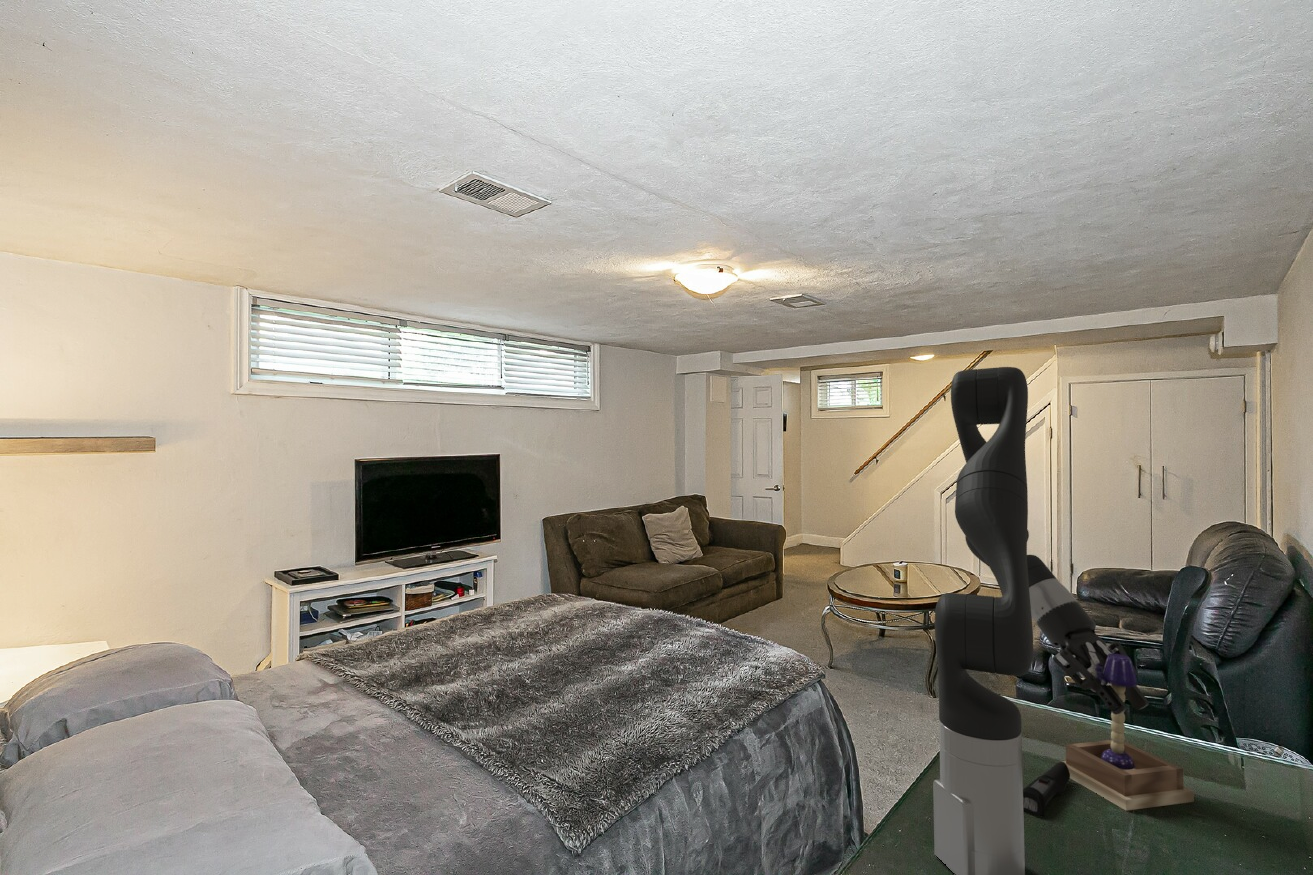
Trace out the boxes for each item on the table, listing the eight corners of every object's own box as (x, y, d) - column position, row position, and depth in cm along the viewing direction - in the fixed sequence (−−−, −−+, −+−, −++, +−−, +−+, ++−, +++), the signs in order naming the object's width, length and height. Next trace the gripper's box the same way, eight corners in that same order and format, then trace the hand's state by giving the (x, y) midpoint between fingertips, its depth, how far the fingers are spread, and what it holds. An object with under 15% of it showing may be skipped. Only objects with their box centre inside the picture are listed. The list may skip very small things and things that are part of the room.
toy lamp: (1127, 757, 102) (1124, 651, 102) (1146, 772, 97) (1143, 660, 97) (1095, 756, 102) (1092, 650, 102) (1113, 770, 97) (1110, 659, 98)
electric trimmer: (1077, 785, 100) (1077, 764, 100) (1042, 820, 90) (1042, 797, 90) (1050, 776, 103) (1050, 756, 103) (1013, 810, 93) (1013, 787, 93)
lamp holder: (1125, 810, 92) (1125, 778, 92) (1058, 771, 104) (1057, 742, 104) (1193, 801, 94) (1192, 770, 95) (1120, 764, 106) (1119, 736, 106)
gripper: (1040, 603, 105) (1119, 704, 93) (1099, 596, 110) (1181, 691, 98) (1012, 628, 109) (1083, 727, 98) (1070, 620, 115) (1145, 714, 103)
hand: (1132, 709), depth 98 cm, fingers closed on toy lamp, 4 cm apart
